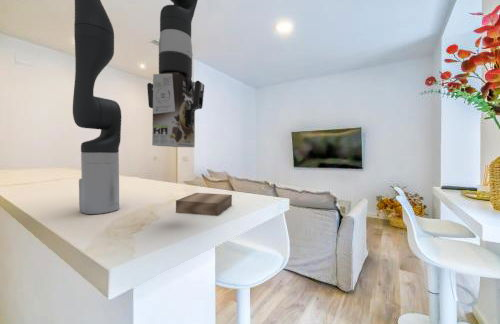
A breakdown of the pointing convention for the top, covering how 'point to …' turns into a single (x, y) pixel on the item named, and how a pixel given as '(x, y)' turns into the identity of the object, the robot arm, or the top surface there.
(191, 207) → the walnut block
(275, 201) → the top surface
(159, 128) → the coffee box
